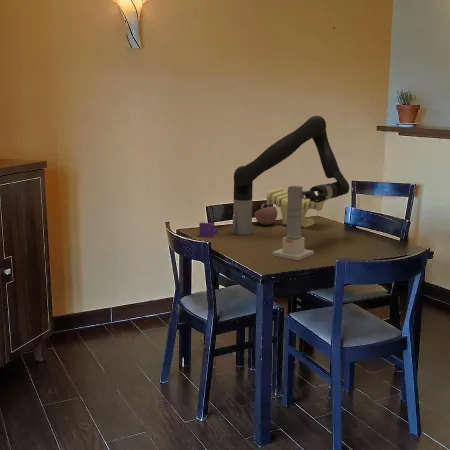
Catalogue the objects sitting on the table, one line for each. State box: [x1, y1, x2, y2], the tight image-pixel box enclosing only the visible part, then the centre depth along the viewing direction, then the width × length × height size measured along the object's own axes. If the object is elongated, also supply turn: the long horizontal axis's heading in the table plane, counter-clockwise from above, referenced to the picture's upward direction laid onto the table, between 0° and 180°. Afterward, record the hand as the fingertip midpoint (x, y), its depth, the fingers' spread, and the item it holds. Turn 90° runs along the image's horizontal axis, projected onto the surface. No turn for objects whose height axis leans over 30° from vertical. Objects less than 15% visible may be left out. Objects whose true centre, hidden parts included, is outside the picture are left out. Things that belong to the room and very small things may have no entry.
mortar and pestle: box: [254, 202, 278, 226], centre depth 306 cm, size 12×12×11 cm
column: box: [285, 185, 303, 239], centre depth 245 cm, size 5×5×22 cm
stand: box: [271, 236, 315, 262], centre depth 248 cm, size 13×13×8 cm
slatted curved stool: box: [265, 186, 327, 228], centre depth 306 cm, size 30×16×18 cm, turn 58°
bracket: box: [198, 222, 219, 238], centre depth 284 cm, size 12×7×7 cm, turn 170°
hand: (302, 197), depth 248 cm, fingers open, 8 cm apart
